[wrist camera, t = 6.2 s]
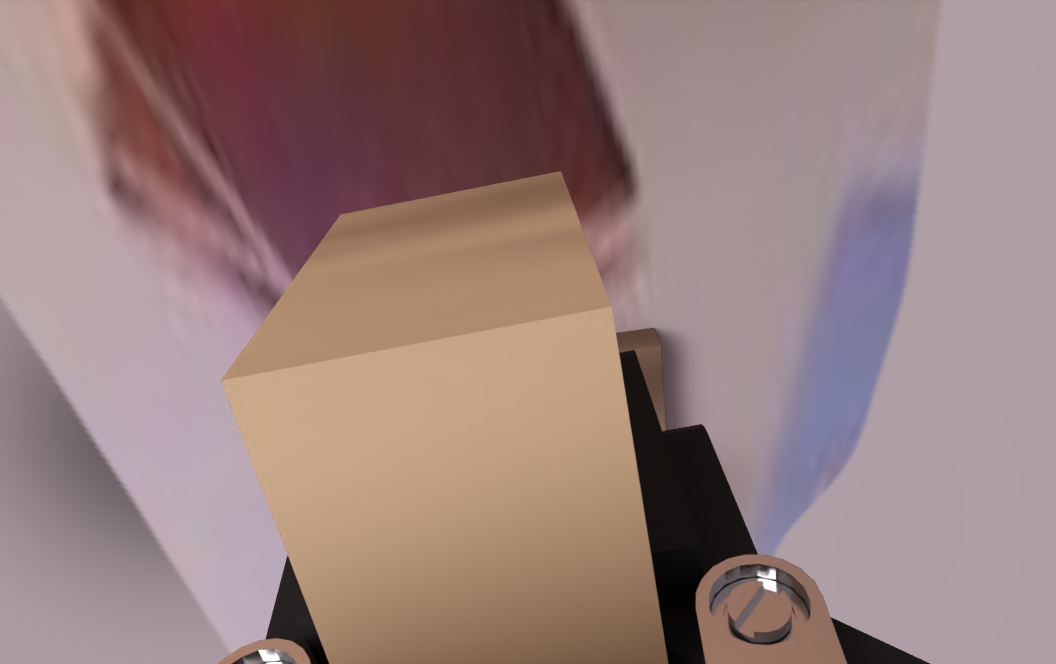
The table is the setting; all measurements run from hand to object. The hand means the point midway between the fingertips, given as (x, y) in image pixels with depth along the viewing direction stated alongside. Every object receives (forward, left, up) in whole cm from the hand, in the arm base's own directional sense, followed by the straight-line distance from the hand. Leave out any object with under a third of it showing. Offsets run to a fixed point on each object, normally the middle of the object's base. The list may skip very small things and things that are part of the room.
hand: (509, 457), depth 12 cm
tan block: (+3, 0, 0) cm, 3 cm away
